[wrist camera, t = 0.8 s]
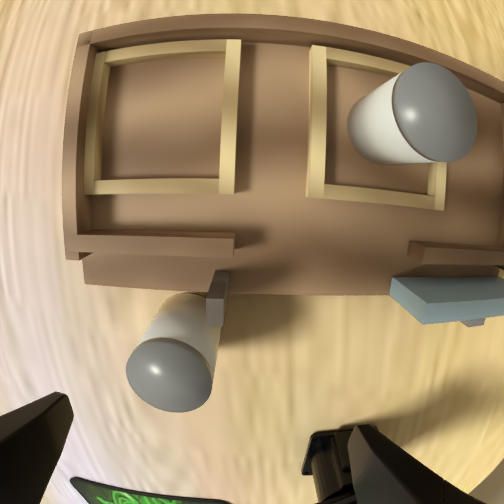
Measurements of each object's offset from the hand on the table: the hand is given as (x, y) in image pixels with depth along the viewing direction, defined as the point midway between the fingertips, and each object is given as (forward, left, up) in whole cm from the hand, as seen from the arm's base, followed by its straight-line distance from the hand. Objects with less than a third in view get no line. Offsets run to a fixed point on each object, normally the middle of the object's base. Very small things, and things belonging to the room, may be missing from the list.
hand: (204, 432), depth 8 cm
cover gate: (0, -16, -11) cm, 19 cm away
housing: (+8, -6, -12) cm, 16 cm away
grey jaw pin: (-3, +3, -12) cm, 13 cm away
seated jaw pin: (+11, -9, -11) cm, 18 cm away
